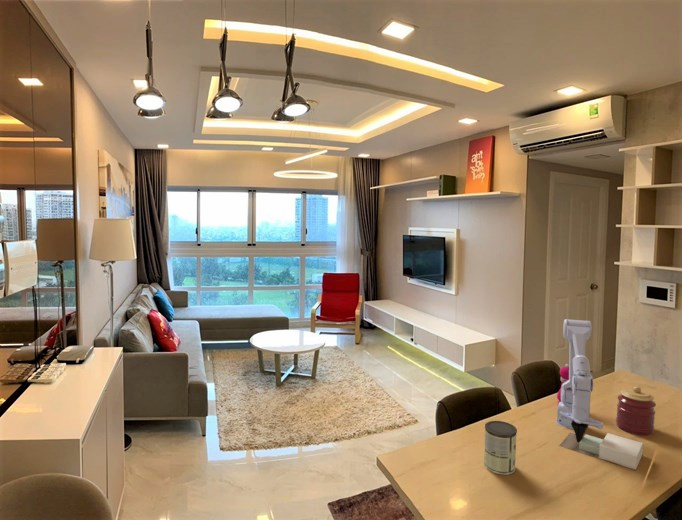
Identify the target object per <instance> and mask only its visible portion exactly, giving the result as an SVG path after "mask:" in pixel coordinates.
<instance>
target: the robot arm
mask: <svg viewBox="0 0 682 520" xmlns="http://www.w3.org/2000/svg"><path fill="white" fill-rule="evenodd" d="M562 327H563V328H562V329H563V330H562V331H563V332H562V333H563V335H562V336H563V339H564V340H566V341H567V342H568V344H569V345H568V346H569V348H568V351H569V353H568V355H569V356H568V357H569V358H568V359H569V360H568V363H569V380H568V381H566V382H564V383H563V384H562V383H561V385H562V386H560V388H561V402H559V404H558V403H557V412H556V425H557V426H560V427H565V428H567V429H571V430H573V432H574V434H575V435H576V439H577V442H580V441H581V440H582V438H583V437H584V436H585V432H586V430H587V429H588V427H594V428H596V429H598V430H603V428H604V423H603V422H601V421H598V420H596V419H593V418H591V417H590V414H591V412H590V410H591V395H592V394H591V393H592V392H593V390H594V379H593V374H592V373H591V366H590V360H589V358H588V357H587V356H586V344H587V343H586V341H587V342H588V341H589V339H590V337H591V335H592V331H593V324H592V322H591V320H583V319H582V320H581V319H579V320H578V319H567V318H565V319H564V320H563V325H562ZM569 388H572V389H569Z"/></svg>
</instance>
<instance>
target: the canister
mask: <svg viewBox="0 0 682 520" xmlns="http://www.w3.org/2000/svg"><path fill="white" fill-rule="evenodd" d="M619 393H620V394H618V396H617V399H618V403H617V404H616V407H617V408H616V409H617V411H616V418H615V423H616V426H617V427H618V428H619V429H621V430H623V431H624V432H627V433H630V434H633V435H637V436H651V435H653V434H654V431H655V418H656V417H655V415H656V410H655V407H656V406H657V403H656V401H654V400H655V397H654V396H653V395H652V394H650V393H649V392H648V391H645V390H643V389H641V387H640V386H638V385H637V386H634V387H632V388H630V387H628V388H624V389H622V390H620V391H619Z"/></svg>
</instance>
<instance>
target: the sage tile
mask: <svg viewBox="0 0 682 520" xmlns="http://www.w3.org/2000/svg"><path fill="white" fill-rule="evenodd" d="M603 439H604V438H599V437H597V436H593V435H589V434H584V435H583V438H582V440H581V441H580V442H579V449H581V450H585V451H588V452H591V453H594V454H597V455H599V448H600V444H601V443H602V441H603Z"/></svg>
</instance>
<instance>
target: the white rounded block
mask: <svg viewBox="0 0 682 520" xmlns="http://www.w3.org/2000/svg"><path fill="white" fill-rule="evenodd" d="M602 439H603V441H602V443H601V444H600V448H599V458H601V459H604V460H607V461H611V462H614V463H617V464H620V465H623V466H626V467H629V468H632V469H635V471H636V470H637V467H638V466H639V464H638V463H640V461H641V458H642V456H643V455H642V454H643V449H644V448H643V447H644V446H643V445H644V443H643V442H640V441H637V440H634V439H630V438H626V437H623V436H620V435H616V434H613V433H609V432H607V434H606V435H605V437H604V438H602ZM601 459H600V460H601ZM604 460H603V461H604ZM607 461H606V462H607Z"/></svg>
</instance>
